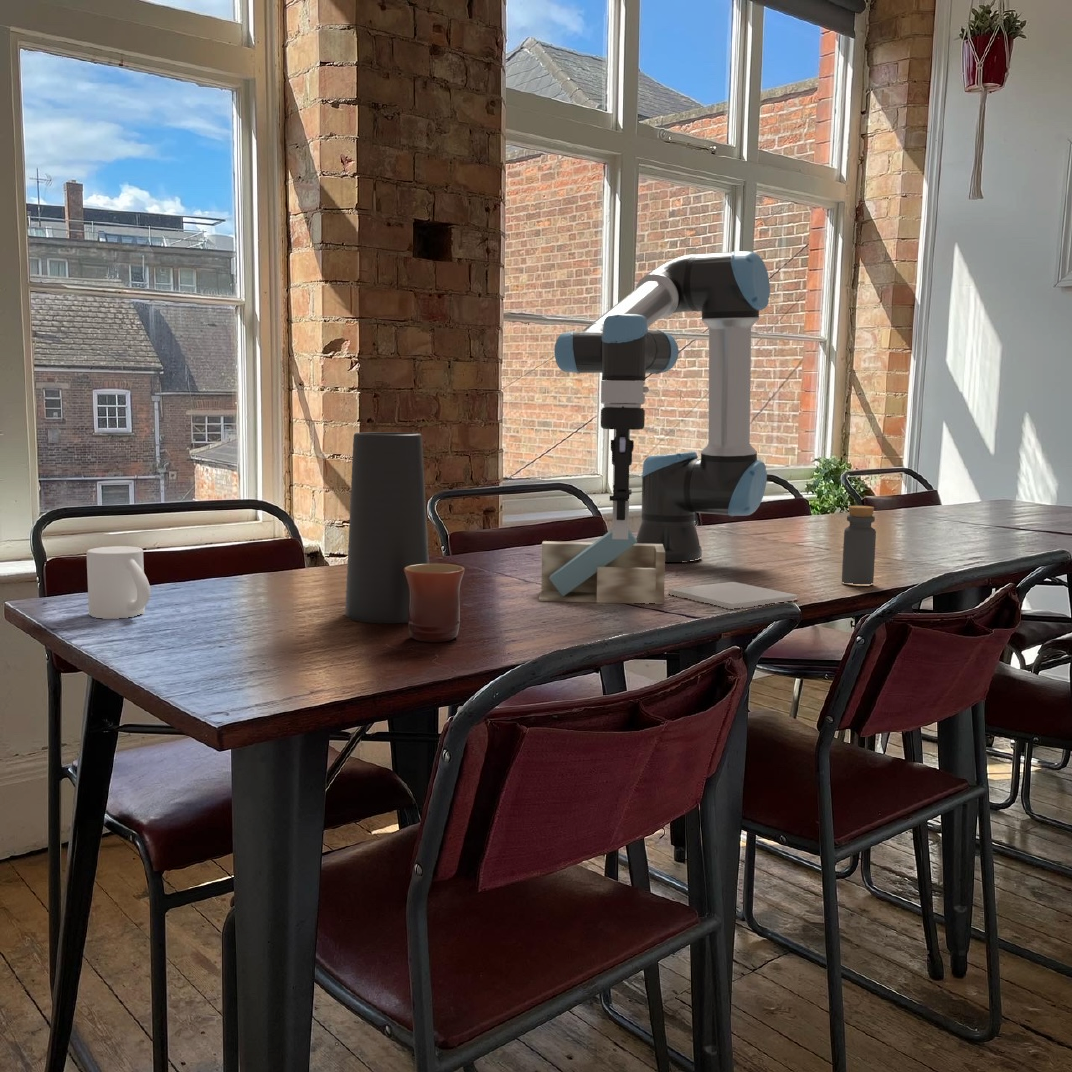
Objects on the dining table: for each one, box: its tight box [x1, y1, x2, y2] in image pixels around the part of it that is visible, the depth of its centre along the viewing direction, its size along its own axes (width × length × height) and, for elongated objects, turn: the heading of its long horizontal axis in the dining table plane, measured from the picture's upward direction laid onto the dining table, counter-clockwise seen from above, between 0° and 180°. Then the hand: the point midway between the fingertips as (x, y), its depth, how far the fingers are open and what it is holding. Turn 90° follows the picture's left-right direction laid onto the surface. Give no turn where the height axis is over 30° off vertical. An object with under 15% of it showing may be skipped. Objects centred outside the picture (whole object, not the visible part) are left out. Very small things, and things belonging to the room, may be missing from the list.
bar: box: [549, 528, 637, 596], centre depth 189 cm, size 16×4×4 cm
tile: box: [667, 581, 799, 610], centre depth 192 cm, size 16×16×1 cm
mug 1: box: [86, 545, 151, 620], centre depth 169 cm, size 8×10×12 cm
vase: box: [345, 431, 430, 624], centre depth 171 cm, size 14×14×29 cm
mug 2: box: [404, 563, 466, 643], centre depth 158 cm, size 12×9×10 cm
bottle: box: [841, 505, 877, 584], centre depth 206 cm, size 6×6×15 cm
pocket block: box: [538, 540, 666, 605], centre depth 190 cm, size 22×10×9 cm, turn 86°
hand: (619, 535), depth 188 cm, fingers open, 10 cm apart
